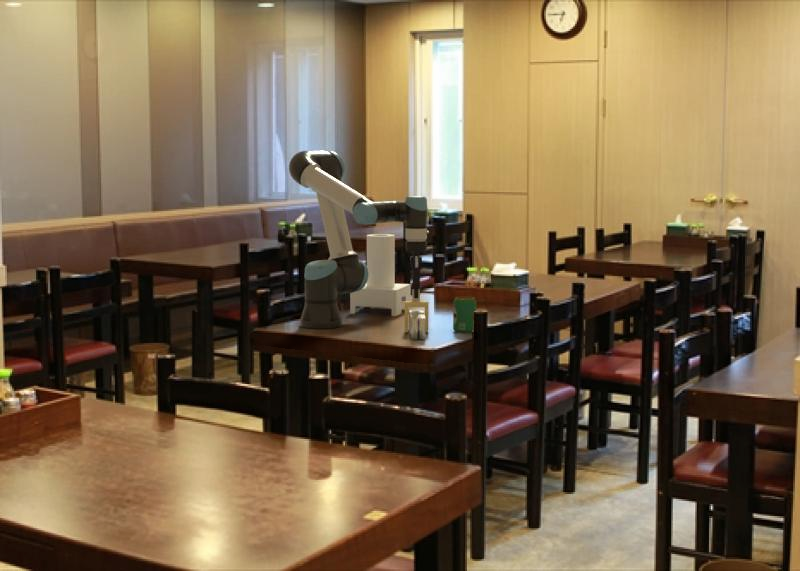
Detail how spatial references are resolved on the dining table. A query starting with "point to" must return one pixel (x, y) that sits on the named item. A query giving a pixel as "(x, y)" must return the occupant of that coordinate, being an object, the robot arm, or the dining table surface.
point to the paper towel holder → (381, 277)
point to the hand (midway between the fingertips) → (415, 307)
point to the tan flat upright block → (416, 304)
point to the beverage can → (463, 314)
